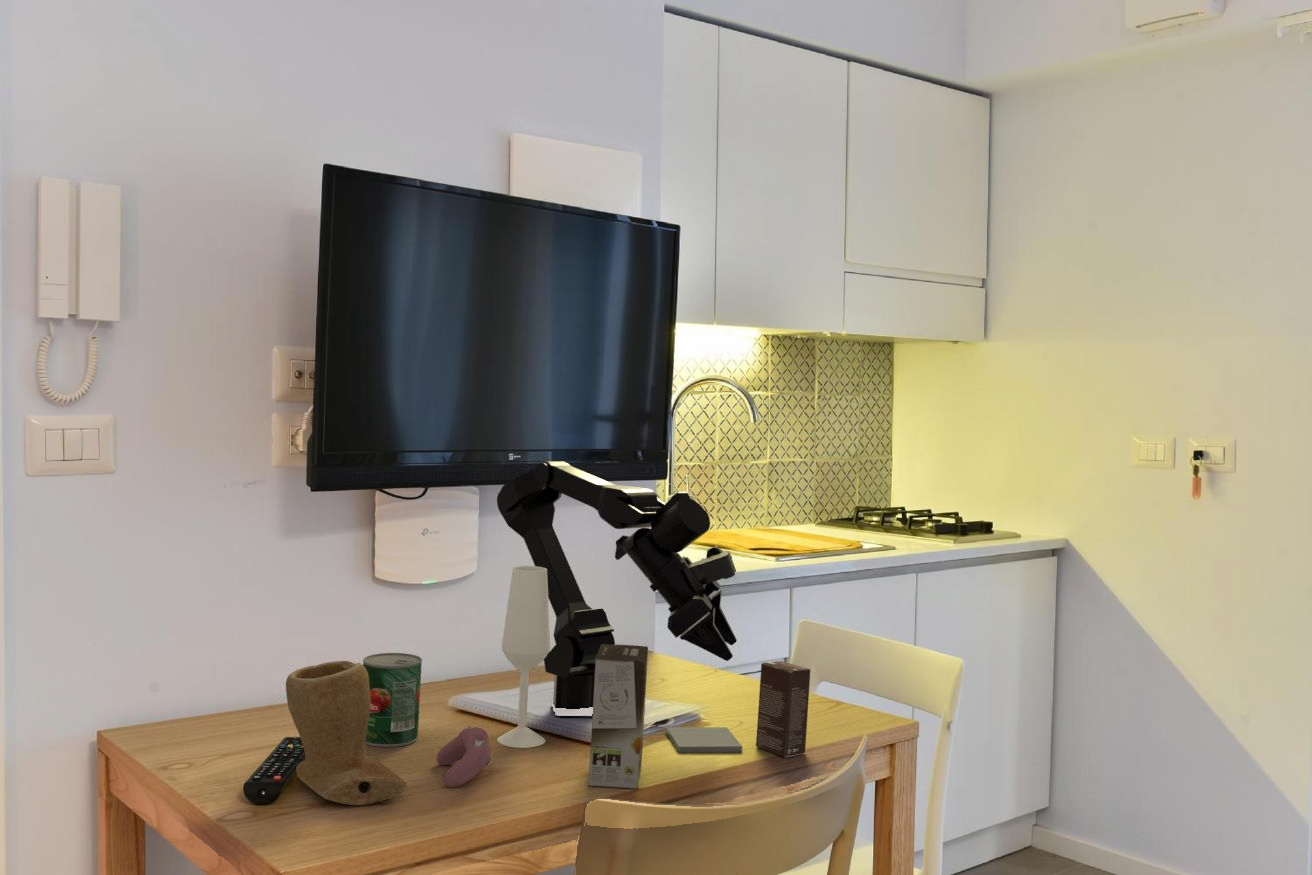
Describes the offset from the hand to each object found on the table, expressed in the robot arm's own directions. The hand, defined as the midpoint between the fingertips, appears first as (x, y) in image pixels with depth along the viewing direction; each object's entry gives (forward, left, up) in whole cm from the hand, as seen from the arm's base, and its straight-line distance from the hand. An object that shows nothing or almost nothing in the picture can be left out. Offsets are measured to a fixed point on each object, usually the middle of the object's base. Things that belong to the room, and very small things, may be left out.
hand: (732, 650), depth 162 cm
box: (+7, -4, -13) cm, 15 cm away
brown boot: (-52, -18, -13) cm, 57 cm away
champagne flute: (-29, +1, -13) cm, 32 cm away
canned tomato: (-47, +2, -13) cm, 49 cm away
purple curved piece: (-37, -13, -14) cm, 42 cm away
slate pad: (-3, 0, -13) cm, 14 cm away
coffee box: (-18, -14, -13) cm, 26 cm away
